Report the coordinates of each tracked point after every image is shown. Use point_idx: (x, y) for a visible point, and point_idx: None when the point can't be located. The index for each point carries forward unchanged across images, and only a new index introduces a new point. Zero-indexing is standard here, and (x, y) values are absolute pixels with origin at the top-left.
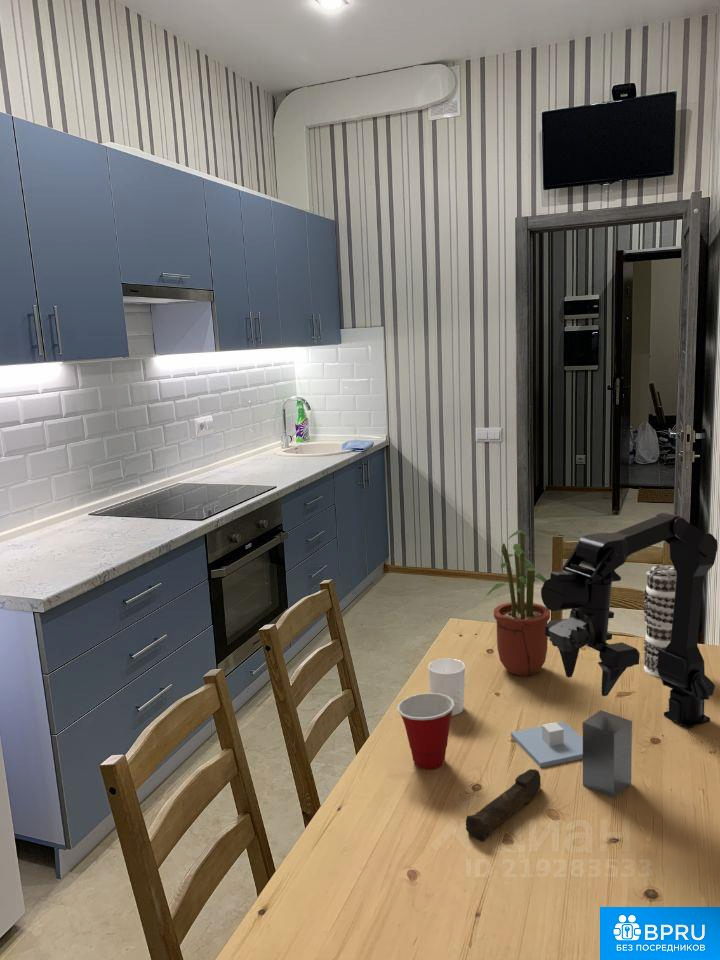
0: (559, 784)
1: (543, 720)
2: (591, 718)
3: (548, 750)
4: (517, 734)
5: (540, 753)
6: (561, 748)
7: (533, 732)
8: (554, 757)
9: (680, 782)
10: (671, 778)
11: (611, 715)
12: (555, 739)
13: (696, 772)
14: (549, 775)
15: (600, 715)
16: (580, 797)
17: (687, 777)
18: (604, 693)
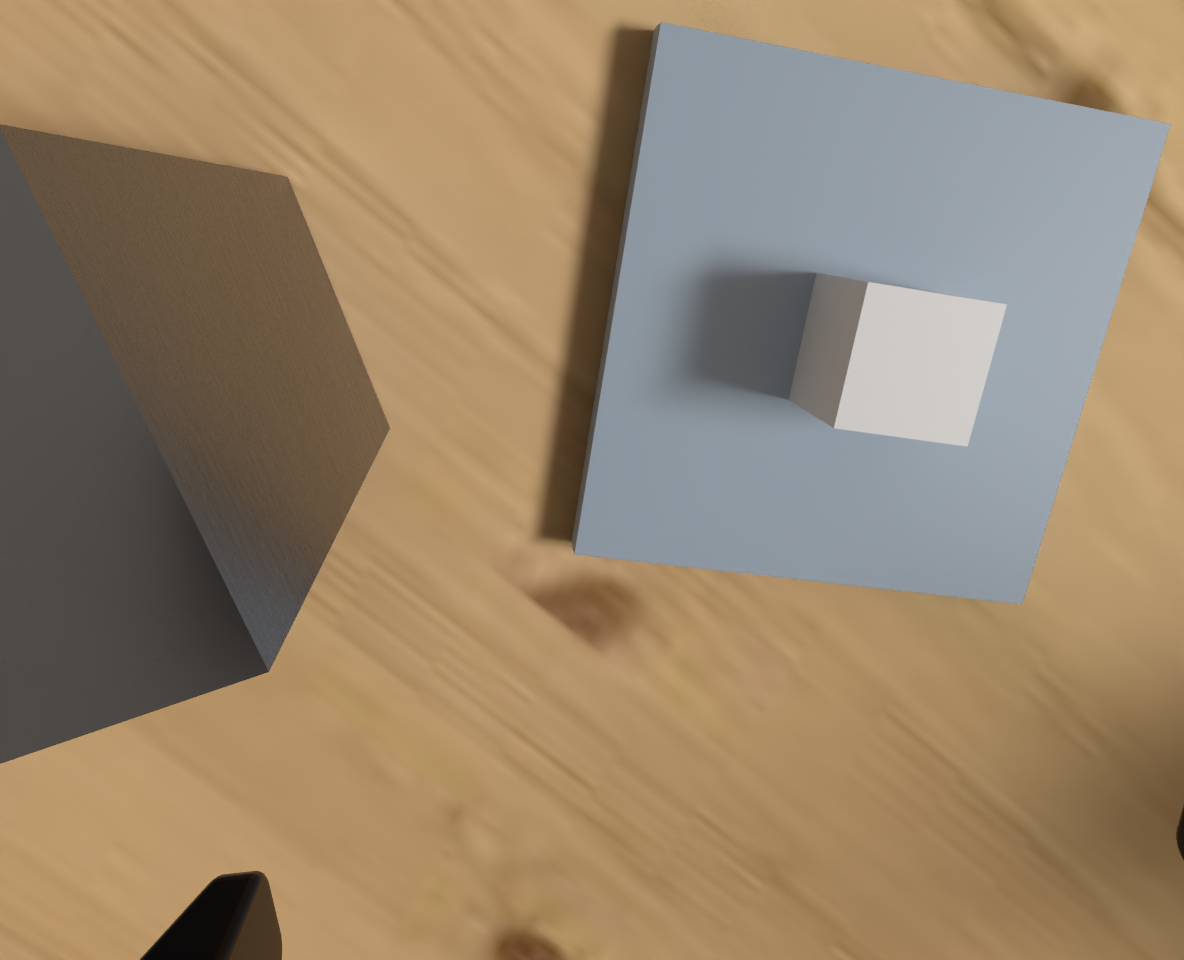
0: (372, 4)
1: (1147, 505)
2: (72, 363)
3: (774, 221)
4: (1108, 151)
5: (776, 130)
6: (742, 337)
7: (1049, 293)
8: (667, 196)
9: (41, 794)
10: (105, 777)
11: (36, 699)
12: (822, 332)
13: (105, 943)
14: (519, 20)
15: (103, 555)
16: (139, 33)
17: (76, 865)
18: (172, 933)
